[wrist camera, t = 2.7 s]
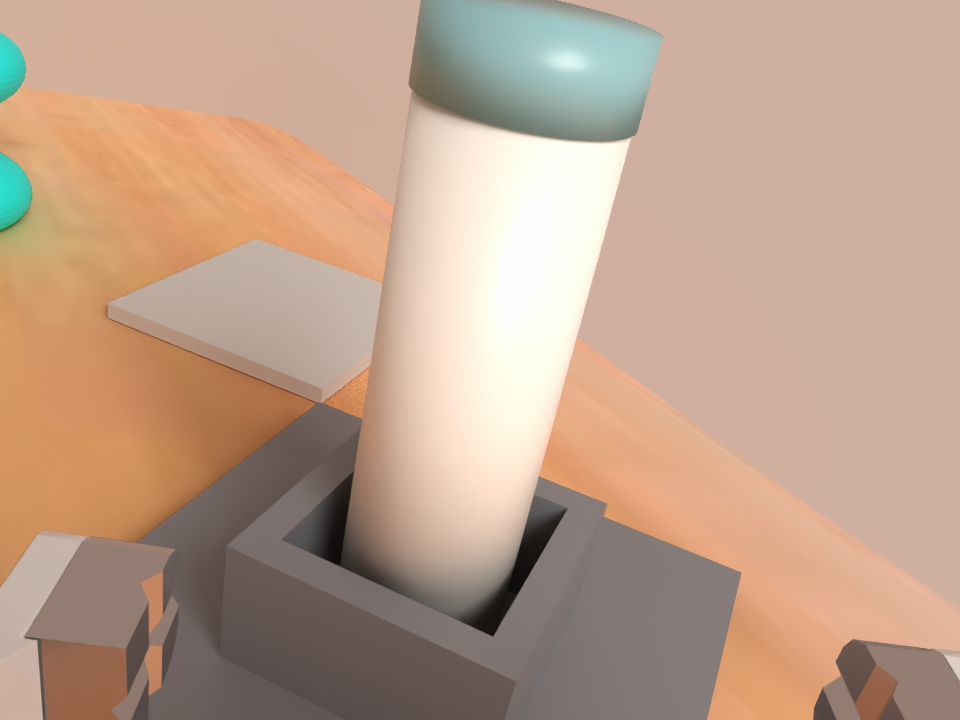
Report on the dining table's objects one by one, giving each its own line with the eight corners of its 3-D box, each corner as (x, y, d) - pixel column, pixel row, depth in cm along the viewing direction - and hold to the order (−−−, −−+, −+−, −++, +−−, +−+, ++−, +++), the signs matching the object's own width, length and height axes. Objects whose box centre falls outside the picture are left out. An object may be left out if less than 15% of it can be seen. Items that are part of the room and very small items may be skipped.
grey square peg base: (-64, 741, 23) (-88, 580, 20) (315, 431, 38) (329, 317, 35) (597, 1138, 18) (675, 992, 16) (728, 603, 33) (778, 485, 31)
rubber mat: (107, 317, 43) (107, 303, 43) (255, 251, 53) (256, 238, 53) (320, 403, 40) (322, 388, 40) (434, 315, 50) (436, 302, 50)
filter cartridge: (294, 643, 26) (377, -16, 17) (380, 544, 30) (480, -19, 22) (455, 722, 24) (630, 49, 16) (520, 607, 29) (684, 32, 21)
